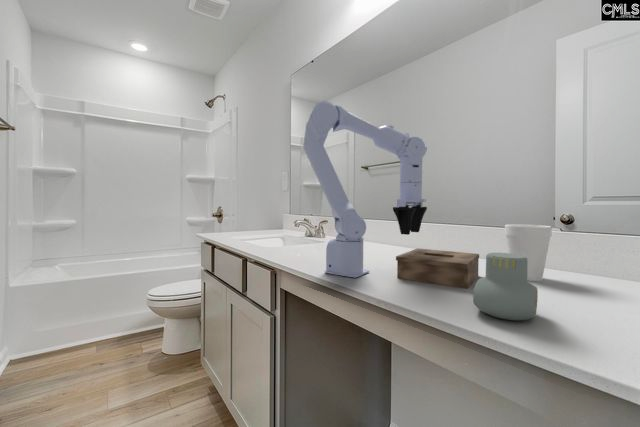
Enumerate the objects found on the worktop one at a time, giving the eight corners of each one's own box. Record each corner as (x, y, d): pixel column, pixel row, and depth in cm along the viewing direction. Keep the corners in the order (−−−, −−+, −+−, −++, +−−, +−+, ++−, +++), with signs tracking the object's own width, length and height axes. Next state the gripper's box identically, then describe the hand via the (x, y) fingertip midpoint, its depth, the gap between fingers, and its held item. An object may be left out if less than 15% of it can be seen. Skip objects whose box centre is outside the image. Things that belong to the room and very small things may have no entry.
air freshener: (484, 301, 57) (485, 248, 57) (537, 311, 52) (539, 253, 52) (470, 318, 49) (471, 257, 48) (532, 332, 44) (533, 263, 43)
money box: (395, 278, 74) (395, 256, 74) (417, 267, 87) (417, 248, 87) (466, 289, 65) (467, 264, 65) (478, 275, 78) (479, 253, 77)
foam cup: (535, 273, 79) (536, 224, 79) (559, 283, 70) (561, 227, 70) (497, 273, 80) (498, 224, 80) (516, 282, 71) (517, 227, 70)
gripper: (416, 180, 73) (416, 236, 74) (433, 183, 85) (433, 231, 85) (389, 182, 77) (388, 234, 78) (409, 184, 89) (408, 230, 90)
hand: (410, 233), depth 82 cm, fingers open, 7 cm apart
